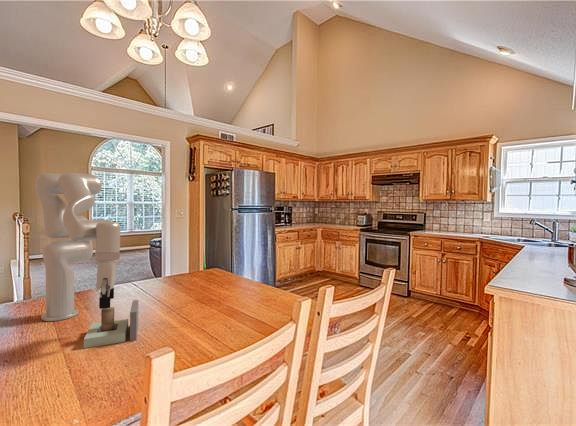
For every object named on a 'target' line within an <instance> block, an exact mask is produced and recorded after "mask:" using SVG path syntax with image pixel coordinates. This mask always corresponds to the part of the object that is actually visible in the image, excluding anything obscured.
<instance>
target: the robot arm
mask: <svg viewBox="0 0 576 426" xmlns="http://www.w3.org/2000/svg"><path fill="white" fill-rule="evenodd" d="M34 185H35V192H36V195H37V198H38V201H39V203H40V204H41V207H42V208H41V209H42V216H43V224H44V226H43V227H44V233H45V236H47V238H50V239H65V238H66V239H67V238H70V239H71V240H61V241H58V240H57V241H53V242H49V243H47V244H46V245H44V247H43V249H42V258H43V262H44V268H45V313H43V314H42V315H41V316H40V320H42V321H45V322H55V321H62V320H66V319H70V318H73V317H74V316H75V317H76V316H77V315H78V314H79V311H80V310H79V309H78V308H75V272H74V270H73V269H72V268H71V267H70V266H69V265H68V264H70V263H77V262H84V261H87V260H90V259H91V258H92V256H93V254H94V247H93V241H95V254H94V256H95V257H94V260H95V261H94V262H96V263H97V267H96V269H97V271H96V285H95V289H96V291H98V292H99V298H98V299H99V300H98V303H99V305H98V306H99V310H100V309H103V308H110V307H111V300H112V299H114V298H115V297H114V296H115V288H114V286H115V283H116V276H117V275H116V273H117V271H116V270H117V262H118V261H120V259H121V257H120V255H121V251H120V250H121V225H120V223H119V222H117V221H111V220H108V219H88V218H87V217H86V216H83V215H79V214H82V213H84V212H86V211H88V210H90V209H92V208H93V207H94V205H95V203H96V200H95V197H94V196H95V195H98V194H99V193H100V192H101V191H102V182H101V180H100V178H99V177H98V176H96V174H90V173H80V172H65V173H51V172H49V173H42V174H40V175H38V176H37V177H36V179H35V183H34ZM60 195H63V196H64V198H65V200H66V201H65V200H64V199H63V198H62V197H60ZM93 195H94V196H93ZM99 290H100V291H99Z"/></svg>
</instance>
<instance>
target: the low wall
mask: <svg viewBox="0 0 576 426" xmlns="http://www.w3.org/2000/svg"><path fill="white" fill-rule="evenodd" d="M129 311H130V312H129V341H130V342H132V341H137V338H138V330H139V299H134V300H132V302H131V307H130V310H129Z"/></svg>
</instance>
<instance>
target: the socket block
mask: <svg viewBox="0 0 576 426" xmlns="http://www.w3.org/2000/svg"><path fill="white" fill-rule="evenodd" d="M128 330H129V318H124V319H123V318H122V319H114V330H113V331H106V332H101V321H100V322H93V323H91V324H90V326H89V328H88V329H87V333H86V335H85V336H84V338H83V348H84V349H86V348H93V347H99V346H101V347H102V346H105V345H106V346H107V345H112V344H119V343H125V342H126V339H127V335H128Z"/></svg>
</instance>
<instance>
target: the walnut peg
mask: <svg viewBox="0 0 576 426" xmlns="http://www.w3.org/2000/svg"><path fill="white" fill-rule="evenodd" d="M100 315H101V316H100V320H101V321H100V322H101V332H106V331H113V330H114V320H115V307H114V306H110V308H103V309H101V310H100Z"/></svg>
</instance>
